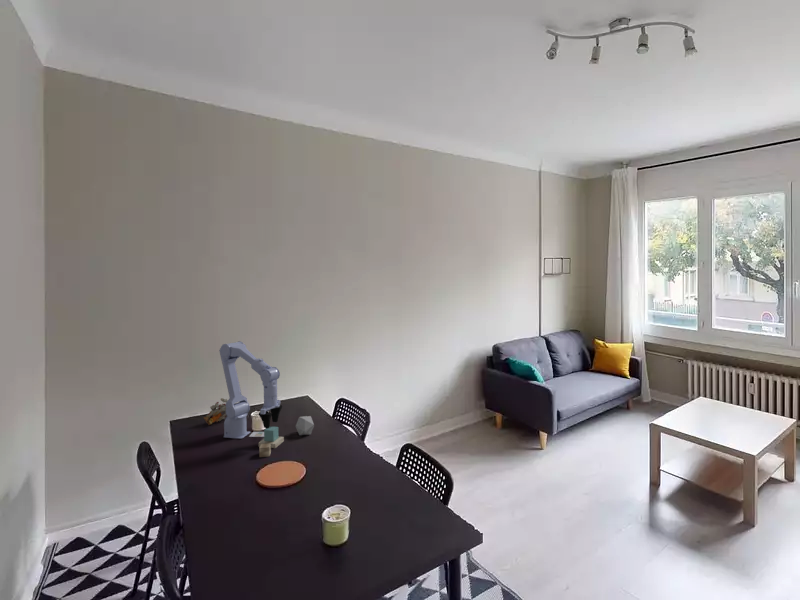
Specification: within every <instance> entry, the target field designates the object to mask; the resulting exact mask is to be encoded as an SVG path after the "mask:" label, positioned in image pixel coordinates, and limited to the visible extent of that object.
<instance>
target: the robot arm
mask: <svg viewBox="0 0 800 600" xmlns="http://www.w3.org/2000/svg"><path fill="white" fill-rule="evenodd" d="M218 352H219V355H220V359H221V364H222V368H223V374H224V379H225V383H226V388H227V392H228V396H229V397H228V399H227V400H228V401H227V402H225V404H226V412H225V413H226V417H225V419H224V423H223V429H224V434H223V438H226V439H227V438H228V439H240V440H241V439H243V438H245V437H246V436H248V435H250V434H251V431H247V427H248V426H247V416H248V413H249V412H250V411H251V405H250V403H249V400H248V398H247V396H245V395H242V391H241V387H240V386H241V385H240V382H239V377H238V372H237V371H238V370H237V367H236V361H237V360H238V359H239V358H241V359H243V360H244V361H245V362H247V363H248V364H250V366H251V367H250V368H251V369H252V370H253V371H254V372H255V373H256V374H258V375H259V376H260V380H261V381H262V383H261V384H262V386H263V405H262V407H261V409H260V411H259V412H258V416H259V418H260V420H261V422H262V425H263V428H264V429H266V428H269V427H270V426H271V425H270V424H271V420H272V422H273V423H278V421H279V418H280V413H281V410H282V408H283V405H281V399H278V379H280V376H281V374H280V370H279V369H278V368H277V366H271V365H270V364H268V363H267V362H266V361H264V359H263V358H259V357H258V358H257V357H255V355H254V354H253V353H252V352H251V351H250V350H249V349H248V348H247V345H246V344H245V342H244V341H243V342H242V341H241V340H239V341H237V342H230V343H223V344H222V345H221V346H220V348H219V351H218ZM269 411H270V412H269Z"/></svg>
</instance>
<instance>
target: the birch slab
mask: <svg viewBox="0 0 800 600" xmlns="http://www.w3.org/2000/svg"><path fill="white" fill-rule="evenodd" d="M284 441H285V437H284V436H279V438H278V439H276V440H275V441H274V442H271V441H264V438H262V439H260V441H259V442H258V447H259V448H260V445H261V444H270V443H271V449H277V448H278V446H281V444H282V443H283V442H284Z"/></svg>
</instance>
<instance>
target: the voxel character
mask: <svg viewBox="0 0 800 600" xmlns="http://www.w3.org/2000/svg"><path fill="white" fill-rule="evenodd" d="M228 400H229V399H227V398H226V399H224V398H220V401H221V402H222V403H221V404H220V403H219V401H216V402H215V403H214V404H213V405H212V406H210V407H209V408H210V411H209V413H208V414H206V416H204V417H203V419H204V422H206V424H208V426H211V425H212V424H213V423H218V421H219V422H221V421H222V420H225V419H226V418H227V415H226V402H227V401H228Z"/></svg>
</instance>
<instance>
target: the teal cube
mask: <svg viewBox="0 0 800 600" xmlns="http://www.w3.org/2000/svg"><path fill="white" fill-rule="evenodd" d="M263 432H264V437H263V439H264V441H271V442H274V441H275V440H276V439H278V438H279V437H280V436H279V427H278V426H271V425H270V427H269V428H264V430H263Z"/></svg>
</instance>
